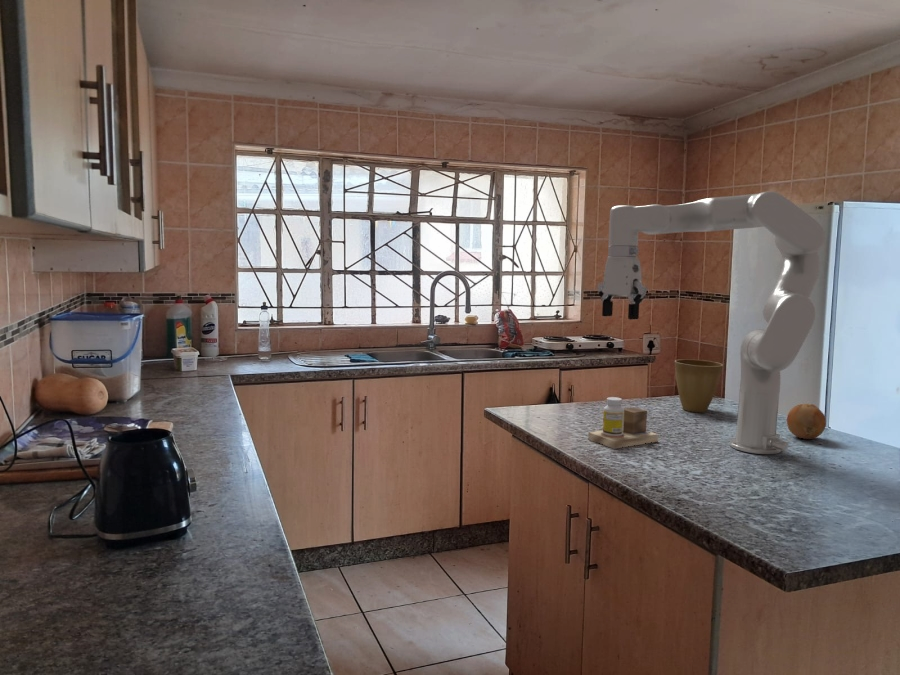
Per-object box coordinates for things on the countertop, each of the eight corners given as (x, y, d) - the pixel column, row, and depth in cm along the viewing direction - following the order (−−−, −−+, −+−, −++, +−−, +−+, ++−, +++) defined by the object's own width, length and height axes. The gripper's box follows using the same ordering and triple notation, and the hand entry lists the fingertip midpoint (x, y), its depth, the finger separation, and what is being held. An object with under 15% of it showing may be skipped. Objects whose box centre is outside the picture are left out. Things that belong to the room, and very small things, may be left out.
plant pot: (711, 417, 211) (715, 367, 209) (665, 410, 220) (668, 362, 218) (724, 409, 222) (728, 362, 220) (680, 402, 231) (683, 357, 229)
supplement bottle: (607, 430, 184) (609, 395, 182) (626, 434, 180) (628, 398, 179) (599, 434, 180) (600, 398, 178) (617, 438, 176) (619, 401, 175)
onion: (814, 434, 193) (818, 400, 192) (830, 444, 183) (834, 408, 182) (779, 432, 194) (782, 399, 192) (793, 442, 184) (797, 406, 183)
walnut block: (632, 434, 180) (633, 412, 179) (619, 429, 185) (620, 408, 184) (645, 432, 183) (647, 410, 182) (632, 427, 187) (633, 407, 186)
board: (657, 441, 182) (658, 433, 181) (614, 448, 174) (614, 440, 174) (631, 432, 190) (631, 425, 190) (588, 439, 182) (588, 431, 182)
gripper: (657, 253, 171) (654, 320, 173) (610, 253, 186) (607, 314, 188) (636, 253, 167) (633, 321, 169) (589, 252, 182) (587, 315, 184)
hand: (619, 317), depth 178 cm, fingers open, 9 cm apart
